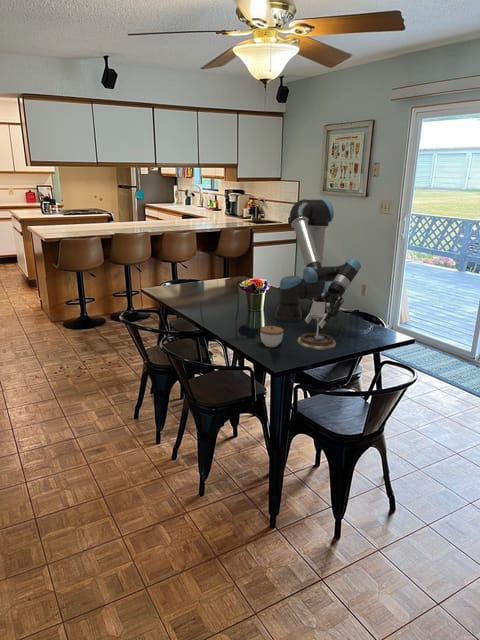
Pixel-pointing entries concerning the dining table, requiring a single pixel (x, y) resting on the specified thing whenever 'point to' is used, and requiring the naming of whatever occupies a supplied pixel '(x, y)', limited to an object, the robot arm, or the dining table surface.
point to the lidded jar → (271, 335)
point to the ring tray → (316, 341)
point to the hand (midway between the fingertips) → (313, 324)
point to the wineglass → (318, 314)
